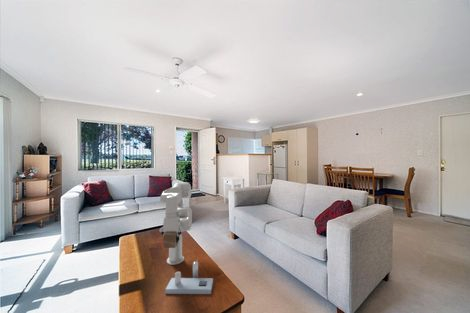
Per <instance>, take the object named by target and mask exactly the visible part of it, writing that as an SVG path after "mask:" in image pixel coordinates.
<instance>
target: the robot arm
mask: <svg viewBox="0 0 470 313" xmlns="http://www.w3.org/2000/svg"><path fill="white" fill-rule="evenodd" d="M191 196H192V186H191V184H190V183H189V182H187V181H186V182H185V181H184V182H183V181H182V182H175V183H174V184H173V185H172V187H170V188H167V189H165V190H163V191H162V193H161V194H160V198H159V202H160V203H161V204H162V205H165V215H164V218H163V223H162V227H160V228H159V230H158V231H159V233H160V234H161V235H162V236H163V237H164V233H165V232H166V233H176V235H177V237H176V243H177V242H178V241H179V243H178V244H177V246H176V247H175V248H168V258H167V259H166V263H167V265H171V266H175V265H179V264H181V263H183V262H184V261H185V257H184V255H183V235H182V234H183V232H189V231H190V230H192V227H193V226H192V224H193V209H192V208H191V207H189V206H185V205H184V202H183V199H190V198H191ZM184 206H185V207H184Z"/></svg>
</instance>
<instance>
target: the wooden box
mask: <svg viewBox="0 0 470 313" xmlns="http://www.w3.org/2000/svg"><path fill="white" fill-rule="evenodd" d="M176 237H177V235H176V233H166V232H165V233H164V236H163V249H167V248H168V249H169V248H175V247H176V246H177V244H178V243H179V241H178V242H177V243H176Z"/></svg>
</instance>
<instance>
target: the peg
mask: <svg viewBox="0 0 470 313" xmlns="http://www.w3.org/2000/svg"><path fill="white" fill-rule="evenodd" d="M192 278H199V261H198V260H194V261H193V262H192Z"/></svg>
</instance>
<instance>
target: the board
mask: <svg viewBox="0 0 470 313" xmlns="http://www.w3.org/2000/svg"><path fill="white" fill-rule="evenodd" d="M213 285H214V278H213V277H211V278H210V277H209V278H206V277H198V278H193V277H182V272H181V271H176V272H174V277H171V279H170V280H169V282H168V284H167V285H166V287H165V289H164V290H165V294H170V295H171V294H173V295H174V294H175V295H177V294H178V295H183V294H184V295H188V294H189V295H211V294H212V290H213Z"/></svg>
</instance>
